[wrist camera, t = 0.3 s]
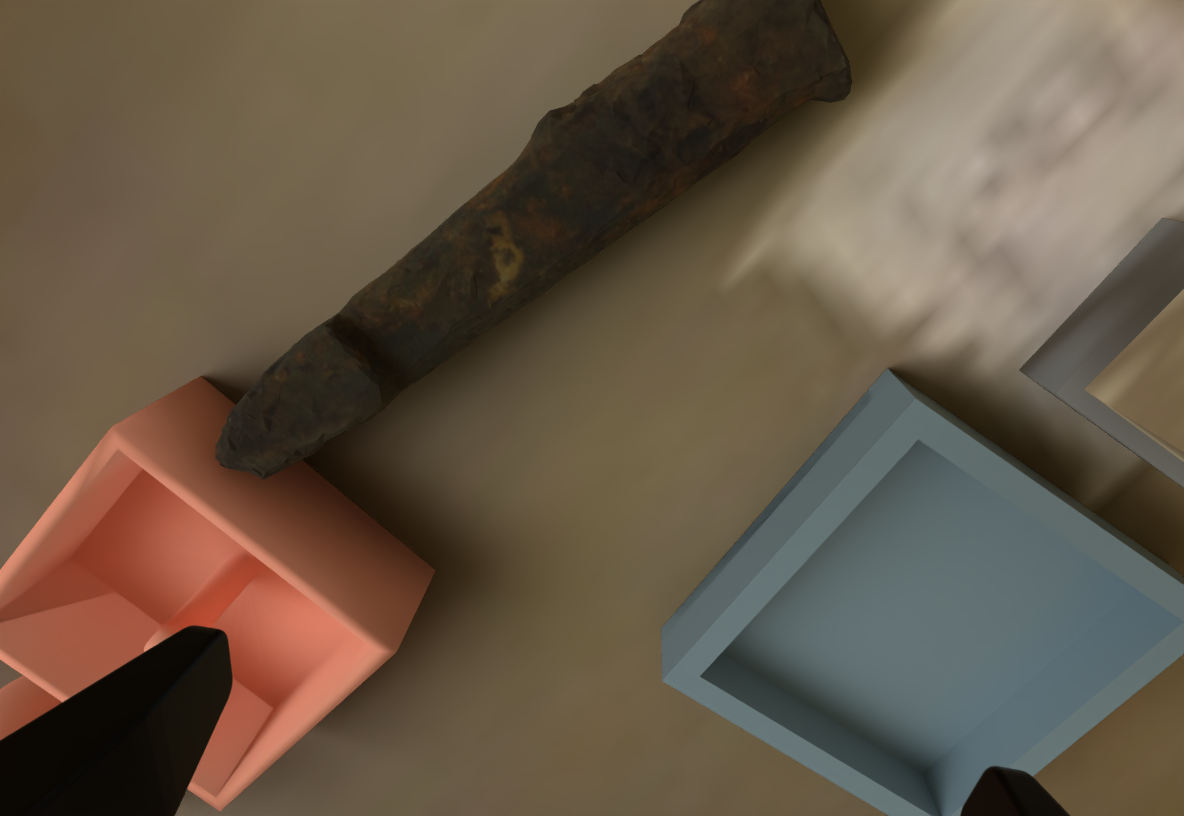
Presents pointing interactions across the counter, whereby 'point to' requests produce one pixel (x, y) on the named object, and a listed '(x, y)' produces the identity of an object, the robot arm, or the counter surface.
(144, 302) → the counter surface
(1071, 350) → the beige pillar on base
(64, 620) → the pottery
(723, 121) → the hand tool
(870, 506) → the tray
